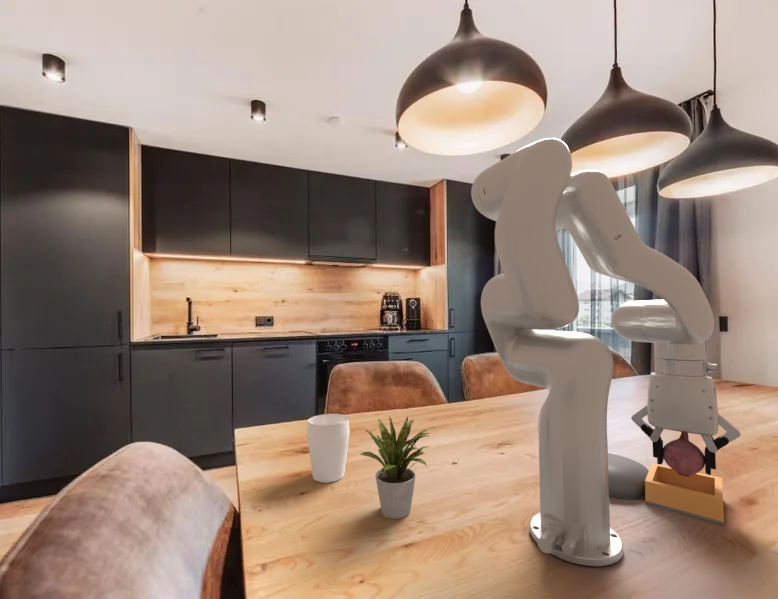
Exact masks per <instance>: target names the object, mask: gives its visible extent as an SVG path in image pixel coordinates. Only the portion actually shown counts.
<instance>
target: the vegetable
mask: <svg viewBox="0 0 778 599" xmlns="http://www.w3.org/2000/svg"><path fill="white" fill-rule="evenodd" d="M689 438H690V437H689V433H686V432H681V433H680V436H679V438H677V439H674V440H671V441H669V442H667V443H666V444H665V445H663V450H662V453H663V458H664V460H663V461H664V462H665V464H667V465H666V466H669V467H671V468H672V469H673V470H675V471H676V472H678V474H679V475H681V476H686V477H689V475H693V474H696V473H700V472H701V471H702V470H703V469H704V468H705V453H704V452H703V451H702V450H701V448H699V447H698V446H697V444H695V443H693V442H692V441H690V439H689ZM686 477H685V478H686Z"/></svg>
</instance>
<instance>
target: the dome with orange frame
mask: <svg viewBox="0 0 778 599" xmlns="http://www.w3.org/2000/svg"><path fill="white" fill-rule="evenodd" d="M608 475H609V498H612V497H613V499H618V498H619V500H620V499H621V500H638V498H639V499H643V498H645V504H647V505H649V506H654V507H657V508H661V509H664V510H668V511H672V512H675V513H678V514H682V515H686V516H690V517H693V518H696V519H697V518H698V519H701V520H704V521H708V522H711V523H715V524H719V525H722V526H725V517H724V516H725V513H724V512H725V511H724V494H723V493H724V491H723V477H720V476H716V475H712V474H711V475H707V474H706V473H700V472H698V473H696V474H693V475H689V477H686V476H681V475H679V474H678V472H676V471H675V470H673V469H672V468H671V467H669V466H668V465H663V464H661V465H660V464H657V463H654V462H651V465H650V467H649V469H648V468H647V467H646V466H645V465H644V464H642V463H640V462H638V461H636V460H633V459H631V458H629V457H625V456H622V455H619V454H613V453H609V452H608ZM685 477H686V478H685Z"/></svg>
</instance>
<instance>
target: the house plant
mask: <svg viewBox="0 0 778 599" xmlns="http://www.w3.org/2000/svg"><path fill="white" fill-rule="evenodd" d="M388 420H389V425H390V426H389V428H390V432H389V430H388V429H387V427H386V426H385V424H384V423H383V422H382V420H381V419H379V418H377V422H378V427H379V428H378V429H379V432H380V436H379V435H378V434H376V435H374V434H373V433H372V432H371V431H370V430H367V429H365V428H364V430H365V431H366V432H367V433H368V434H369V435H370V437H371V440H372V441H373V442H374V443H375V445H376V446H377V447H378V449H377V450H378V454H379V455H380V457H379V455H377V454H376V453H374V452H371V451H363V452H361V453H360V454H359V455H361V456H364V457H368V458H372V459H375V460H377V461H378V462H379V463H380V464H381V465H382V468H380V469H378V470H377V471H376V473H375V480H376V487H377V492H378V498H379V499H378V500H379V504H380V510H381V513H382V515H383V516H384V517H386V518H389V519H395V520H396V519H398V520H399V519H403V518H406V517H407V516H409V515H410V513H411V510H412V502H413V495H414V489H415V481H416V472H415V471H414V470H412V469H411V468H412V467H413V466H414V465H415V464H416V463H417V462H418V463H420V464H422V465H425V467H426V468H427V469H429V468H428V465H427V462H426V461H425V460H424V459H422V458H418V457H419V456H421V455H425V454H426V455H427V453H425V452H423V451H422V450H424V449H426V448H429V447H430V445H427V446H426V445H425V446H422V447H420V448H418V447H417V444H416V443H417V442H418V441H419V440H420V439H422V438H427V437H430V432H427V431H428V430H432V429H435V428H436V426H432V427H429V428H425V429H423V430H421V431H419V432H418V433H416V435H414V436H413V437H412V438H410V439H408V437H409V436H410V433H411V428H412V424H413V423H414V419H412V420H410V421H409V416H408V415H407V416H406V418H405V420H404V422H403V425H402V426H401V428H400V431H399V433H398V436H397V434H396V433H397V432H396V429H395V427H394V423H393V420H392V418H391V417H390V415H389V418H388ZM428 434H429V435H428ZM413 450H415V451H413ZM412 451H413V452H412ZM410 452H412V453H410ZM381 458H382V459H381ZM411 462H414V463H413V464H412V465H411V466H410V467H409V468H408V466H409V465H410V463H411Z"/></svg>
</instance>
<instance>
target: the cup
mask: <svg viewBox="0 0 778 599" xmlns="http://www.w3.org/2000/svg"><path fill="white" fill-rule="evenodd" d="M349 418H350V417H349V416H347V415H345V414H340V413H326V414H325V413H324V414H318V415H315V416H314V415H313V416H311V417H310V418H308V420H307V430H306V432H307V433H306V438H307V444H308V452H309V460H310V466H311V472H312V473H311V474H312V475H311V476H312V478H313V480H314V481H317V482H319V483H325V484H326V483H334V482H338V481H339V480H341V479H342V478H343V477H344V476H345V471H346V463H347V456H348V449H349V441H350V434H351V432H350V421H349V420H350V419H349Z"/></svg>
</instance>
